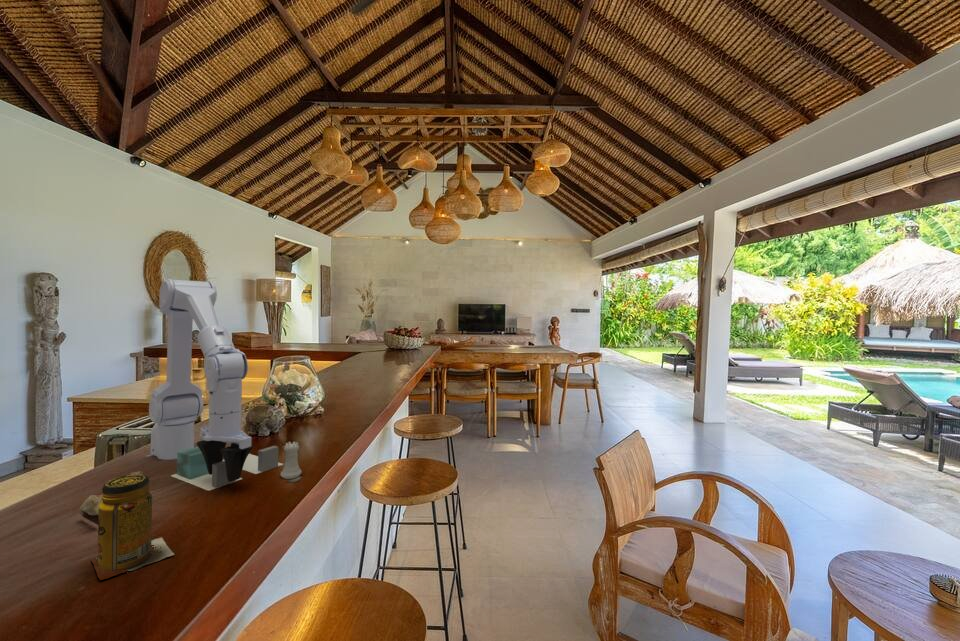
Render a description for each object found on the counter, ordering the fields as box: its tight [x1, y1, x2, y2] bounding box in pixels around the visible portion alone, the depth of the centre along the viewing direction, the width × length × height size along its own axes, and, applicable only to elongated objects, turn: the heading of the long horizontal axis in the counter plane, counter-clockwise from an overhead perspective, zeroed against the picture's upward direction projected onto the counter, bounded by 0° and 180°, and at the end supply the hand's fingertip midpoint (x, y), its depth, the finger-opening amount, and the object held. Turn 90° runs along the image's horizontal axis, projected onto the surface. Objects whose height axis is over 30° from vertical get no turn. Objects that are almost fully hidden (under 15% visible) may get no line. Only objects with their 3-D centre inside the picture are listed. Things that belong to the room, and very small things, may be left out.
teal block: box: [176, 446, 209, 479], centre depth 91 cm, size 5×5×5 cm
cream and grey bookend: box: [223, 445, 284, 475], centre depth 98 cm, size 14×7×5 cm, turn 62°
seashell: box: [78, 470, 144, 516], centre depth 77 cm, size 8×17×5 cm, turn 36°
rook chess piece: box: [280, 441, 303, 484], centre depth 92 cm, size 4×4×8 cm
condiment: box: [97, 474, 175, 572], centre depth 62 cm, size 7×8×12 cm
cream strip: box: [170, 461, 243, 492], centre depth 89 cm, size 14×7×5 cm, turn 62°
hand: (224, 476), depth 86 cm, fingers open, 6 cm apart
